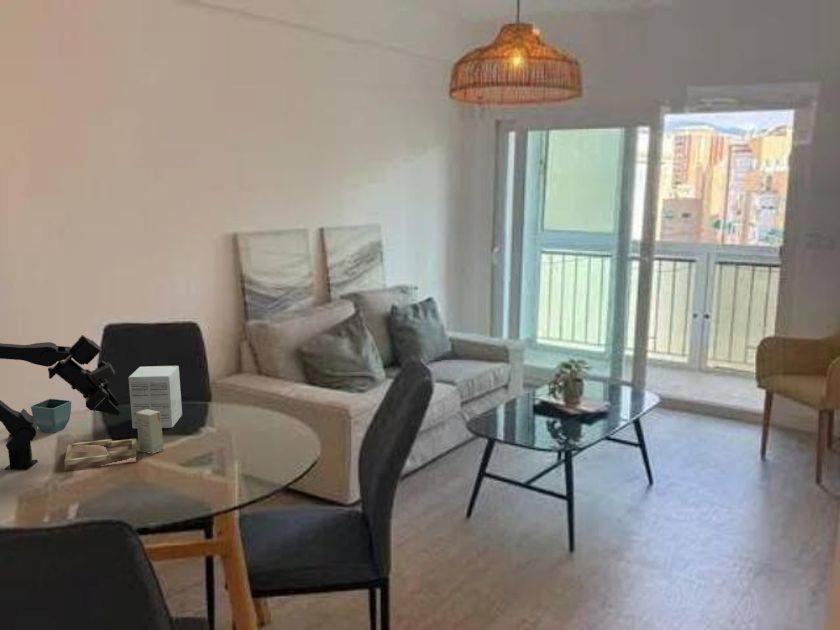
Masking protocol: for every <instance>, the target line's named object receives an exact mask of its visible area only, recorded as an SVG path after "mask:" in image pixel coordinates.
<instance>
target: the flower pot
mask: <svg viewBox="0 0 840 630" xmlns="http://www.w3.org/2000/svg"><path fill="white" fill-rule="evenodd" d="M30 411H31V416H34V417H35V419H34V420H35V421H36V422H37V429H39V430H40V431H41V432H44V433H45V432H47V433H52V434H53V433H54V432H55V433H56V432H59V431H61V430H63V429H65V428H66V427H67V425H68V423H69V421H70V419H71V413H72V400H66V399H56V398H47V399H45V400H43V401H40V402H38V403H35V404H33V405H31V406H30Z"/></svg>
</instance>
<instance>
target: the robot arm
mask: <svg viewBox="0 0 840 630" xmlns="http://www.w3.org/2000/svg"><path fill="white" fill-rule="evenodd" d="M101 352H102V348H101V346H99V345H98V344H97V343H96V342H95V341H94V340H93V339H92V340H91V339H90V338H88V337H86V336H85V335H83V334H82V335H81V336H80V337H79V338H78V339H77V340H76V341H75V342H74V343H73V344H72V346H64V345H63V346H61V345H58V344H56V343H54V342H51V341H49V342H48V341H47V342H46V341H45V342H36V343H29V344H16V343H15V344H14V343H4V342H3V343H1V342H0V359H1V360H15V361H24V362H28V363H30V364H34V365H37V366H41V367H46V368H47V371H48V379H50V380H51V379H53V378H54V377H55V376H56V375H57V376H58V377H59V378H60V379H62V380H63V381H64V382H66V383H67V384H69V385H70V386H71V387H70V388H71V389H72V390H73V391H75V390H76V391H77V392H78V393H80V394H81V395H82V397H83V398H84V399H85V407H86V408H87V409H88V410H90V411H93V412H99V413H100V412H101V413H105V414H110V415H114V416H119V415H120V414H121V411H119V409H118V408H117V407H118V406H119V405H120V403H119V401H118V400H117V399H116V398H115V397H116V396H114V395H113V394H112V392H111V391H110V389H109V388H108V387H109V386H108V385H109V384H108V383H109V382H108V380H107V379H109V378H113V377H114V376H115V375H116V371H115V369H114V368H113V366H112V364H111V362H106V361H104V360H101V361H99V362H97V367H96V368H94V370H90V369H84V368H83V367H82V366H84V365H89V364H90V363H91V362H92V361H93V360H94V359H95V357H97V356H98V355H99V354H100V353H101ZM103 382H104V383H103ZM34 419H35V417H34V416H33V415H32V414H30V413H29V412H28V411H27V410H26V409H25V408H22V410H21V411H17V410H14V409H13V408H11V407H10V406H8V404H6V403H5V402H3V400H1V399H0V422H1V424H3V426H4V427H5V429H6V430H7V432H8V437H7V440H6V443H5V447H6V449H7V453H8V462H9V464H8V465H7V466H5V468H4V470H5V471H28V470H29V469H31V467H33V466H34V465H36V464H37V463H39V460H38V459H33V452H32V451H33V450H32V443H31V442H32V441H34V439H35V438H36V435H37V431H38V426H37V422H36V421H35V420H34Z"/></svg>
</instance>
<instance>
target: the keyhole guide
mask: <svg viewBox="0 0 840 630" xmlns="http://www.w3.org/2000/svg"><path fill="white" fill-rule="evenodd" d="M77 445H100V446H104V447H106V449H107V451H108V452H107V453H106V454H105V455H97V454H96V455H95V454H92V453H87V452H72V447H74V446H77ZM66 449H67V450H66V453H65V457H64V462H63V463H64V471H65V472H67V471H74V470H75V471H76V470H84V469H92V468H98V467H97V466H101V465H105V464H108V463H112V462H117V461H122V460H127V459H129V458H135V457H136V456H137V457H138V439H136V438H129V439H120V440H113V439H112V438H109V439H99V440H93V441H92V440H91V441H84V442H83V441H81V442H73V443H68V446H67V448H66ZM101 467H102V466H101Z"/></svg>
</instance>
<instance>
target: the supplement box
mask: <svg viewBox="0 0 840 630" xmlns="http://www.w3.org/2000/svg"><path fill="white" fill-rule="evenodd" d="M180 378H181V377H180V366H179V365H157V366H156V365H153V366H149V365H148V366H139V367H137V369H136V370H135V371H133V372H132V374H130V375H129V376H128V388H129V399H130V400H129V401H130V411H131V412H130V414H131V424H132V425H131V427H132V429H137V419H136V412H139V411H142V410H145V409H150V410H155V411H159V412H160V415H161V425H162V429H172V428H173V427H175V425H176V423H177V422H178V421H179V419H180V418H181V417H182V416H183V409H182V407H183V405H182V394H181V393H182V392H181V380H180Z"/></svg>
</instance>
